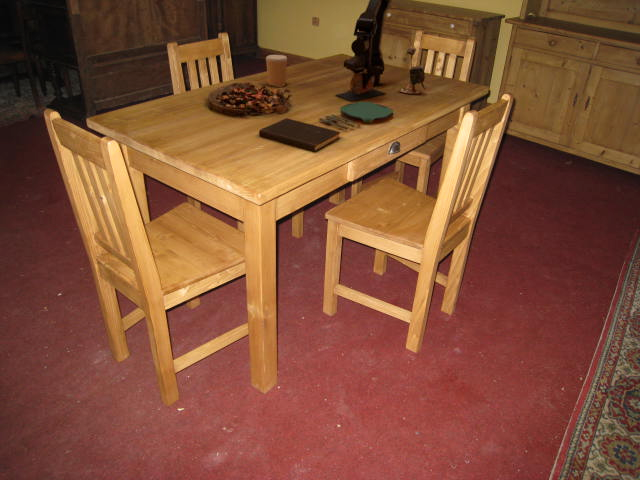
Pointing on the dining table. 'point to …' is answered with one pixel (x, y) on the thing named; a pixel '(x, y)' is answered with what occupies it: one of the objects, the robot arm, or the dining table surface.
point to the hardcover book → (300, 134)
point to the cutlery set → (360, 113)
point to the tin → (361, 83)
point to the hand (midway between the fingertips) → (361, 87)
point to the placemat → (360, 95)
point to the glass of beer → (276, 69)
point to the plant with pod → (414, 75)
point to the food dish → (248, 100)
